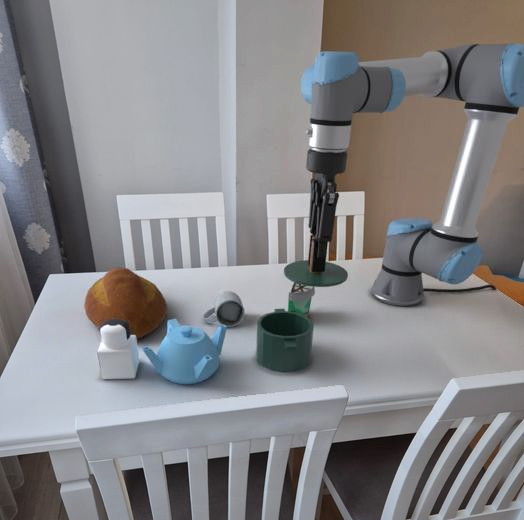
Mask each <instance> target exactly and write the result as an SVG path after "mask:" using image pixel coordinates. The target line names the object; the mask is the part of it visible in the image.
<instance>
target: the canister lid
mask: <svg viewBox="0 0 524 520" xmlns="http://www.w3.org/2000/svg"><path fill="white" fill-rule="evenodd" d="M312 239H316V235H314V236H313V237H312ZM313 246H314V242H312V246H311V257H310V266H308V259H306V260H303V259H302V260H297V261H293V262H291V263H288V264H287V265H285V266H284V268H283V275H284V277H285V278H287V279H288V280H289V281H290V282H293V283H294V282H295V283H298V284H301V285H306V286H313V287H314V288H329V287H335V286H339V285H342V284H343V283H345V282H346V281H347V280H348V277H349V274H348V273H349V272H348V271H347V270H346V269H345V268H344V267H342V266H340V265H339V264H336V263H333V262H330V261H326V264H325V272H312V271H311V268H312V257H313Z"/></svg>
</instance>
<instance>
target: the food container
mask: <svg viewBox="0 0 524 520" xmlns="http://www.w3.org/2000/svg"><path fill="white" fill-rule="evenodd" d="M315 294H316V290H315V287H313V286H306V285H301V284H298V283H295V282H293V284H292V286H291V290H290V291H289V292H288V296H287V301H288V302H287V311H289V312H295V313H299V314H302V315H304V316H306V317H308V318H309V316H310V310H311V305H312V304H311V303H312V297H314V296H315Z"/></svg>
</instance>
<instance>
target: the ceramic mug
mask: <svg viewBox="0 0 524 520" xmlns="http://www.w3.org/2000/svg"><path fill="white" fill-rule="evenodd" d="M245 313H246V311H245V307H244V304H243V301H242V299H241V297H240V296H239V295H238V294H237V293H236V292H235V291H231V290H225V291H223V292H221V293H219V294H218V295H217V297H216V299H215V302H214V306H213V307H212V308H210V309H208V310H207V311H205V313H204V314H203V317H202V318H203V321H204V322H205V323H206V324H212V323H216V322H218V323H219V324H220V326H221V325H225V326H227V328H232V327H236V326H238V325H240V324H241V323H242V322H243V320H244V318H245ZM212 315H214V316H212Z"/></svg>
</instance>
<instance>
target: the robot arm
mask: <svg viewBox="0 0 524 520" xmlns="http://www.w3.org/2000/svg"><path fill="white" fill-rule="evenodd" d="M359 60H360V57H359V54H358V52H357V53H356V52H350V51H328V50H327V51H320V52H319V53H317V55H316V57H315V60H314V64H313V65H311V66H309V67H308V68H307V69H306V70H305V71H304V72H303V74H302V76H301V81H300V93H301V96H302V98H303V99H304V101H305V102H306V103H307V104H310V113H309V114H310V117H309V128H307V129H306V130H305V135H307V136H308V142H307V144H308V146H309V147H310V148H309V149H308V150H307V153H306V154H307V155H306V165H305V168H306V170H307V171H308V172H310V173H313V174H314V178H311V179H310V181H309V183H310V196H309V199H310V200H309V214H308V226H307V227H308V229H309V234H310V235H309V237H310V238H309V246H308V247H309V248H308V259H307V260H308V266H310V257H311V246H312V242H314V246H313V257H312V268H311V271H312V272H325V264H326V262H327V255H328V247H329V246H328V245H329V243H331V242H332V241H333V233H334V228H335V227H334V225H335V219H336V212H337V205H338V203H339V198H340V194H339V192H337V188H338V187H337V182H336V176H337V175H338V174H339V175H341V174H344V173H345V172H346V170H347V162H348V151H346V150H347V149H349V148H350V140H351V132H352V122H353V121H352V120H353V114H356V113H357V114H359V113H362V114H365V113H366V114H369V113H371V114H372V113H378V114H384V113H389V112H393V111H395V110H396V109H398V108H399V107H400V105H401V104H402V102H403V101H404V99H405V97H410V96H420V97H422V98H425V99H431V98H439V99H440V98H441V99H446V100H447V99H448V100H453V101H459V102H465V103H464V108H463V111H464V113H465V115H466V117H467V121H466V126H465V129H464V132H463V136H462V140H461V144H460V147H459V151H458V154H457V158H456V162H455V165H454V169H453V173H452V176H451V180H450V182H449V183H450V184H449V187H448V191H447V193H446V197H445V201H444V205H443V207H442V208H443V209H442V212H441V216H440V220H439V221H437V222H435V223H434V224H433V221H432V220H430V219H426V218H417V217H408V218H407V217H406V218H405V217H404V218H398V219H394V220H393V221H391V222H390V223H389V225H388V228H387V233H386V235H385V244H384V250H383V255H382V256H383V257H382V263H381V268H380V271H379V273H378V274H377V276H376V277H375V279H374V281H373V283H372V287H371V292H370V293H371V296H372V297H373V298H374V299H375V300H377V301H378V302H381V303H383V304H386V305H389V306H390V305H391V306H394V307H395V306H396V307H412V306H417V305H419V304H421V303H422V302H423V300H424V295H425V293H424V292H430V293H466V292H474V291H480V290H481V291H482V290H484V289H489V288H490V289H492V291H493V290H494V291H496V290H497V288H496V286H495V285H493V284H484V285H481V286H473V287H467V288H456V289H455V288H450V289H449V288H446V289H445V288H426V287H425V288H424V285H423V283H424V282H423V276H422V275H426V276H429V277H431V278H434V279H435V280H438V281H439V282H441V283H447V284H449V285H459V284H462V283H463V282H465V281H466V280H468V279H469V278H470V277H471V276H472V275H473V274H474V272H476V270H477V268H478V267H479V265H480V263H481V260H482V257H483V247H482V246H481V245H480V244H479V243H477V242H478V238H479V235H480V234H479V232H478V230H477V229H476V223H477V221H478V217H479V214H480V211H481V208H482V205H483V202H484V199H485V195H486V192H487V189H488V187H489V182H490V179H491V177H492V173H493V170H494V166H495V163H496V160H497V157H498V154H499V150H500V148H501V144H502V141H503V138H504V135H505V133H506V128H507V126H508V124H509V123H510V122H511V121H512V120H513V119H515V118H516V117H518V112H519V110H520V109H521V108H523V107H524V44H523V43H513V42H511V43H480V44H479V43H469V44H464V45H459V46H453V47H448V48H444V49H439V50H429V51H427V52H426V53H424V54H423V55H422V56H419V57H406V58H405V57H404V58H395V59H382V60H381V59H380V60H370V61H359ZM314 235H316V239H312V237H313V236H314Z"/></svg>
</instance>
